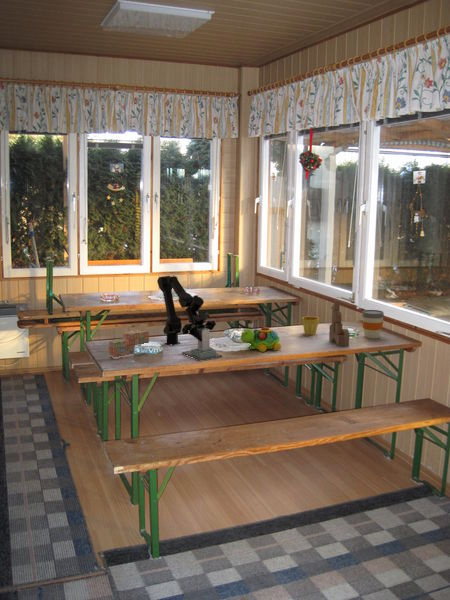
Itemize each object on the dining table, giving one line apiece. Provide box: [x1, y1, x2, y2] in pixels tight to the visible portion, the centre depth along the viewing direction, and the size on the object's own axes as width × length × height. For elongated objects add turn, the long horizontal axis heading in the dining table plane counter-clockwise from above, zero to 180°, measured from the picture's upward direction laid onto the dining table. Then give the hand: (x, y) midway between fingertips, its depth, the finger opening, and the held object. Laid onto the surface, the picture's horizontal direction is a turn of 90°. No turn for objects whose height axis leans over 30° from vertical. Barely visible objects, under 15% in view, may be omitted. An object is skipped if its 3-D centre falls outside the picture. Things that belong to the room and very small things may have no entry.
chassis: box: [181, 347, 223, 361], centre depth 339 cm, size 18×14×4 cm
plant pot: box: [301, 315, 320, 336], centre depth 386 cm, size 10×10×10 cm
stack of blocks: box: [108, 329, 150, 357], centre depth 339 cm, size 21×6×12 cm, turn 132°
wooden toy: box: [328, 300, 350, 348], centre depth 362 cm, size 15×7×25 cm, turn 13°
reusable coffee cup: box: [361, 309, 385, 339], centre depth 378 cm, size 13×13×15 cm
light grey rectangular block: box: [197, 328, 211, 353], centre depth 336 cm, size 4×4×12 cm
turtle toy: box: [240, 326, 282, 353], centre depth 352 cm, size 17×23×12 cm
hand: (205, 340), depth 335 cm, fingers open, 5 cm apart
